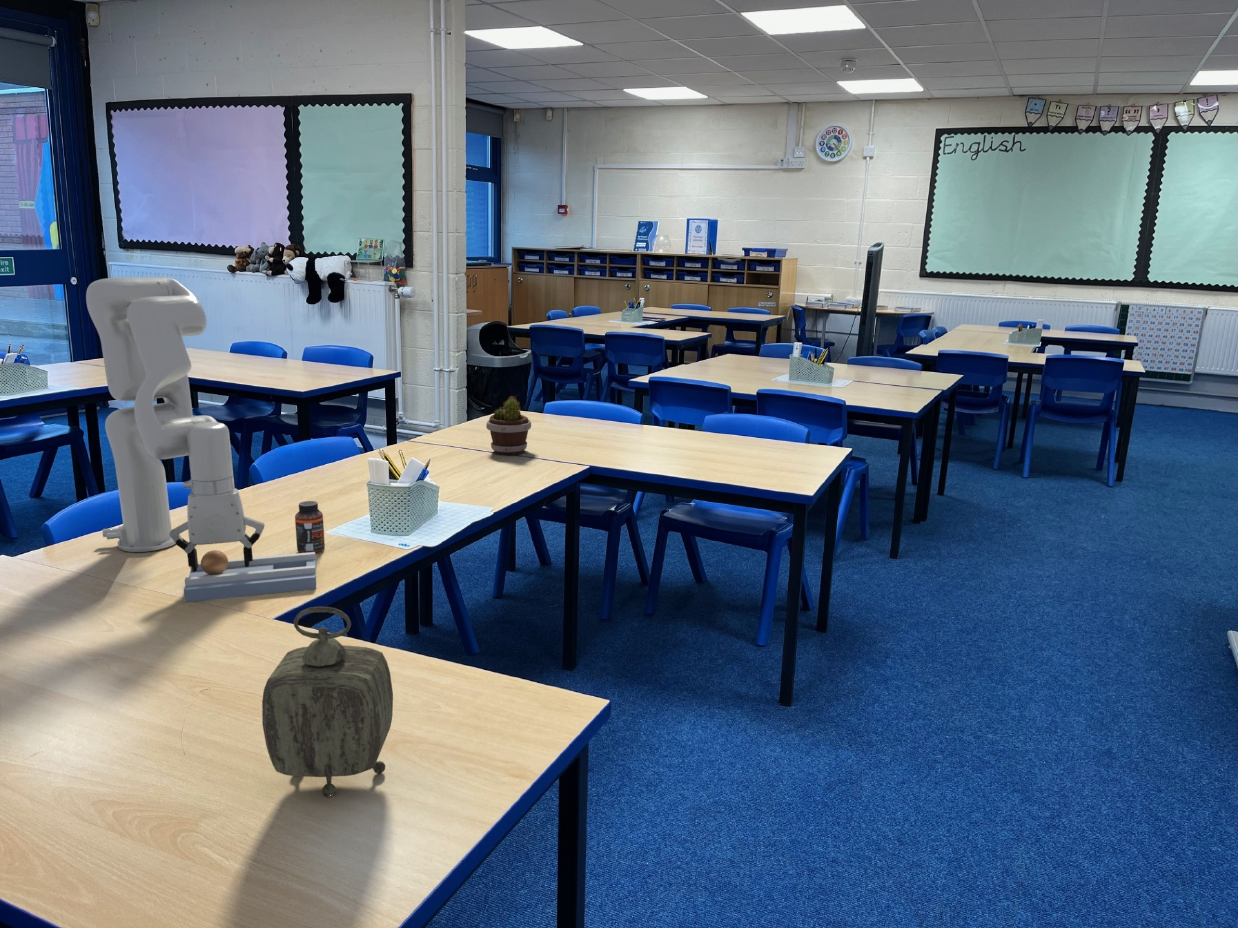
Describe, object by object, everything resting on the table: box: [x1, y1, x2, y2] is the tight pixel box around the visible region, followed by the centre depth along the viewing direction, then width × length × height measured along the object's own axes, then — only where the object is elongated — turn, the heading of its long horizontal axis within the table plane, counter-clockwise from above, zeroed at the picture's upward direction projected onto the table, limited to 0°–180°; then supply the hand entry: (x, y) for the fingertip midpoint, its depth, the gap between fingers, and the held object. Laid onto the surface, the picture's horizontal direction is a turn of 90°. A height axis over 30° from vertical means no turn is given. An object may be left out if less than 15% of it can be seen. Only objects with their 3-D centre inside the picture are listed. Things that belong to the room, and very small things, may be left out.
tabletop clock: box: [261, 606, 394, 797], centre depth 110 cm, size 14×9×25 cm, turn 92°
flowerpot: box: [485, 395, 532, 456], centre depth 288 cm, size 14×15×20 cm
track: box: [183, 552, 317, 603], centre depth 178 cm, size 24×14×4 cm, turn 109°
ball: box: [200, 549, 229, 575], centre depth 175 cm, size 5×5×5 cm
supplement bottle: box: [294, 500, 326, 555], centre depth 196 cm, size 6×6×11 cm
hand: (221, 567), depth 176 cm, fingers open, 9 cm apart
